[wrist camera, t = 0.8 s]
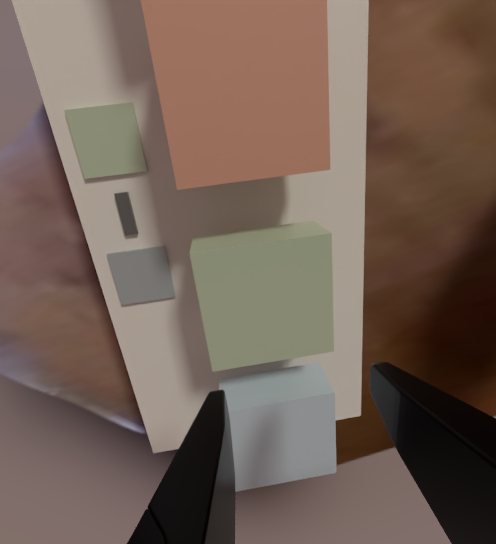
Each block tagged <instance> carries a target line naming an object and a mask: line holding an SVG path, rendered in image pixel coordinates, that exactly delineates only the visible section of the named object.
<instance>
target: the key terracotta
mask: <svg viewBox="0 0 496 544" xmlns="http://www.w3.org/2000/svg"><path fill="white" fill-rule="evenodd" d="M141 5H142V10H143V15H144V20H145V26H146V31H147V36H148V41H149V46H150V52H151V57H152V62H153V67H154V72H155V77H156V83H157V88H158V93H159V98H160V103H161V108H162V114H163V119H164V124H165V129H166V134H167V140H168V145H169V150H170V155H171V160H172V165H173V171H174V176H175V181H176V186H177V190H181V189H189V188H196V187H204V186H211V185H219V184H226V183H234V182H241V181H249V180H257V179H264V178H272V177H279V176H287V175H294V174H302V173H310V172H317V171H325V170H330V124H329V74H328V24H327V0H141Z"/></svg>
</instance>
